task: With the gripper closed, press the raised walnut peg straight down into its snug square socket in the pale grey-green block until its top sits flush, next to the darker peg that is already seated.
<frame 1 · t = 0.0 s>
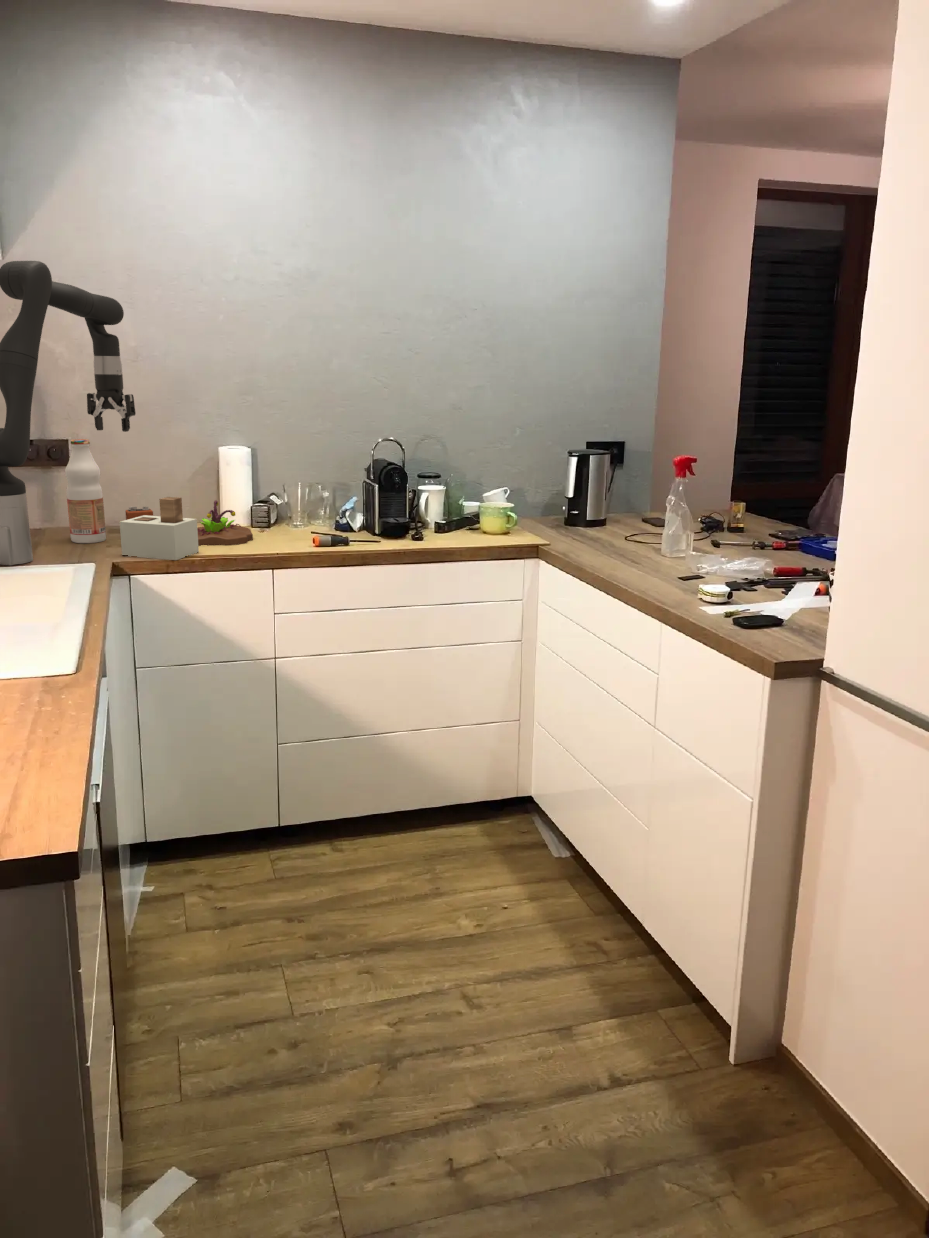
hand: (112, 430, 284), 29 cm above the worktop, tool pointing down, fingers open, 8 cm apart
peg: (171, 515, 258), point 10 cm above the worktop, slide at 6.0 cm
fruit juice: (88, 541, 278), on the worktop
seated peg: (147, 552, 263), resting in socket block
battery: (141, 543, 277), on the worktop
plant: (217, 541, 283), on the worktop
socket block: (160, 554, 262), on the worktop
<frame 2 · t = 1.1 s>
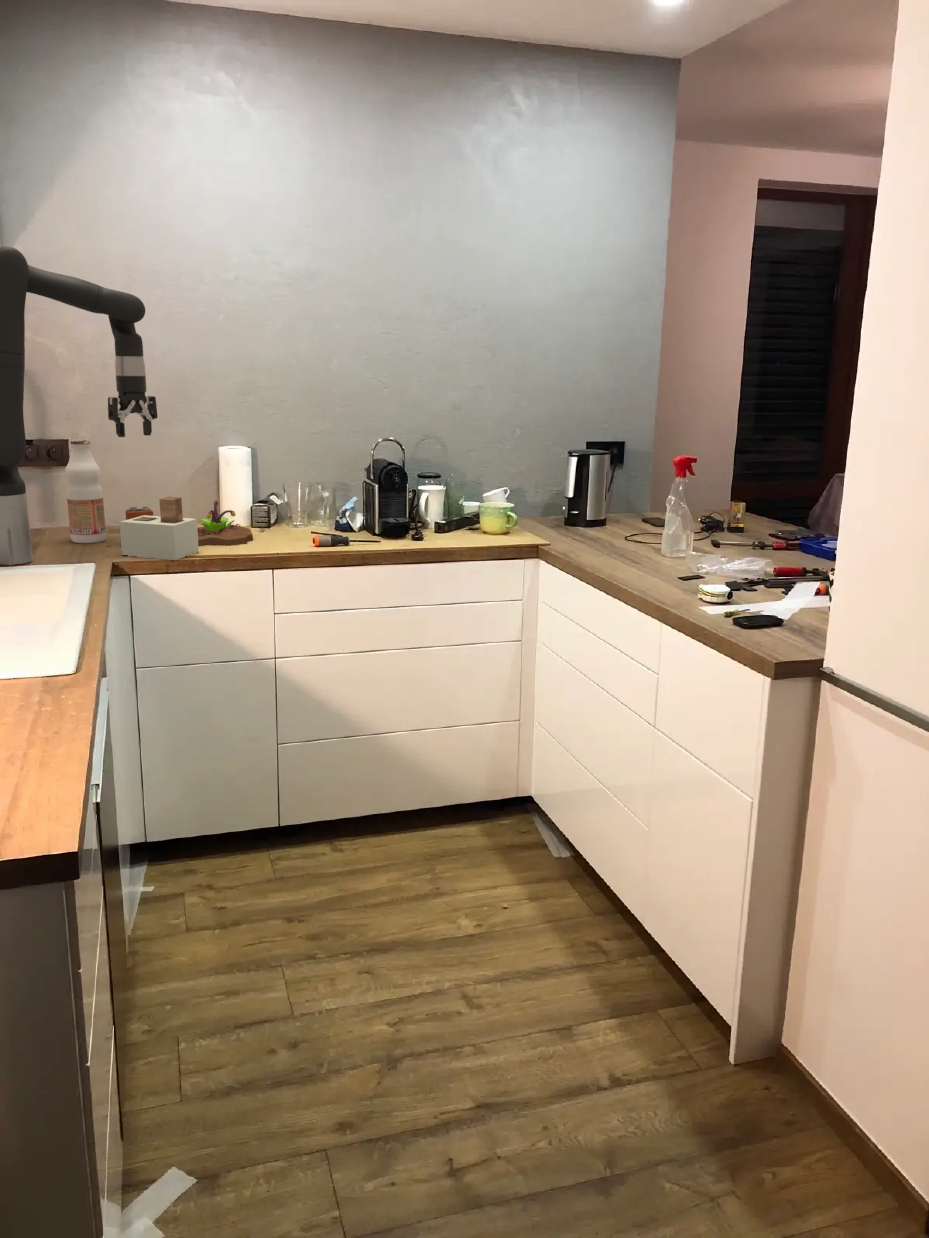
hand: (134, 436, 266), 30 cm above the worktop, tool pointing down, fingers open, 8 cm apart
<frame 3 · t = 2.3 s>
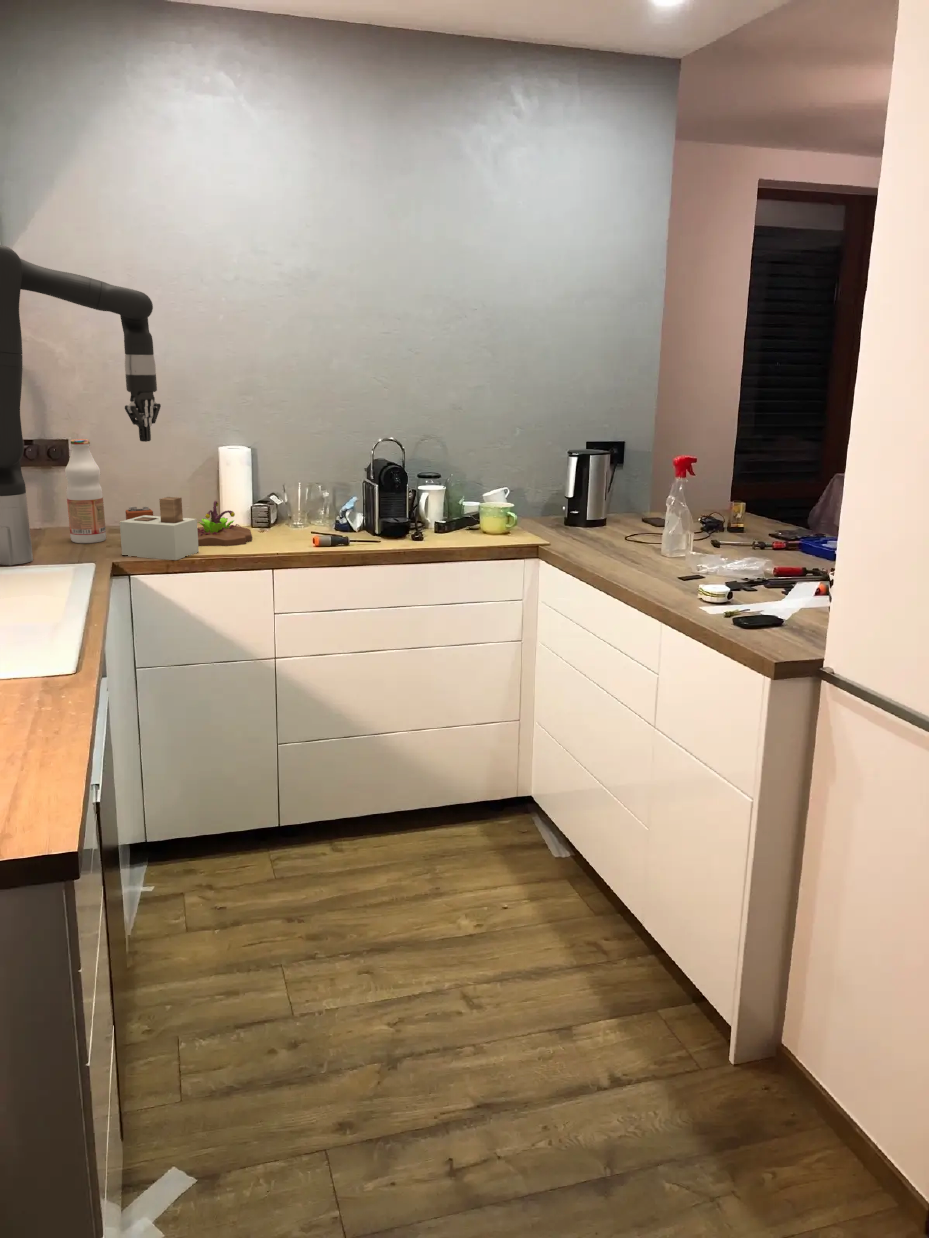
hand: (145, 441, 259), 29 cm above the worktop, tool pointing down, fingers closed
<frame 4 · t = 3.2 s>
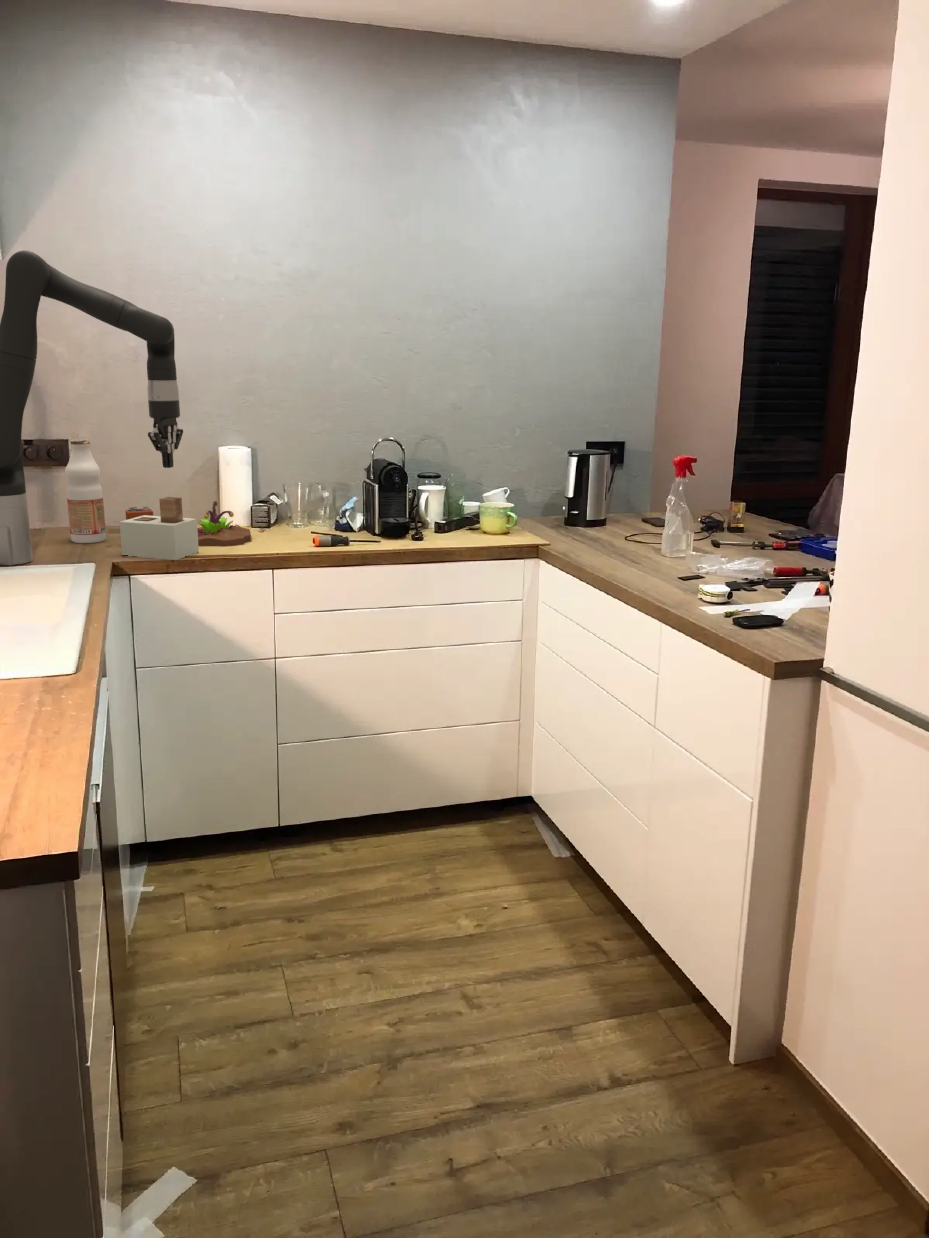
hand: (168, 467, 255), 23 cm above the worktop, tool pointing down, fingers closed
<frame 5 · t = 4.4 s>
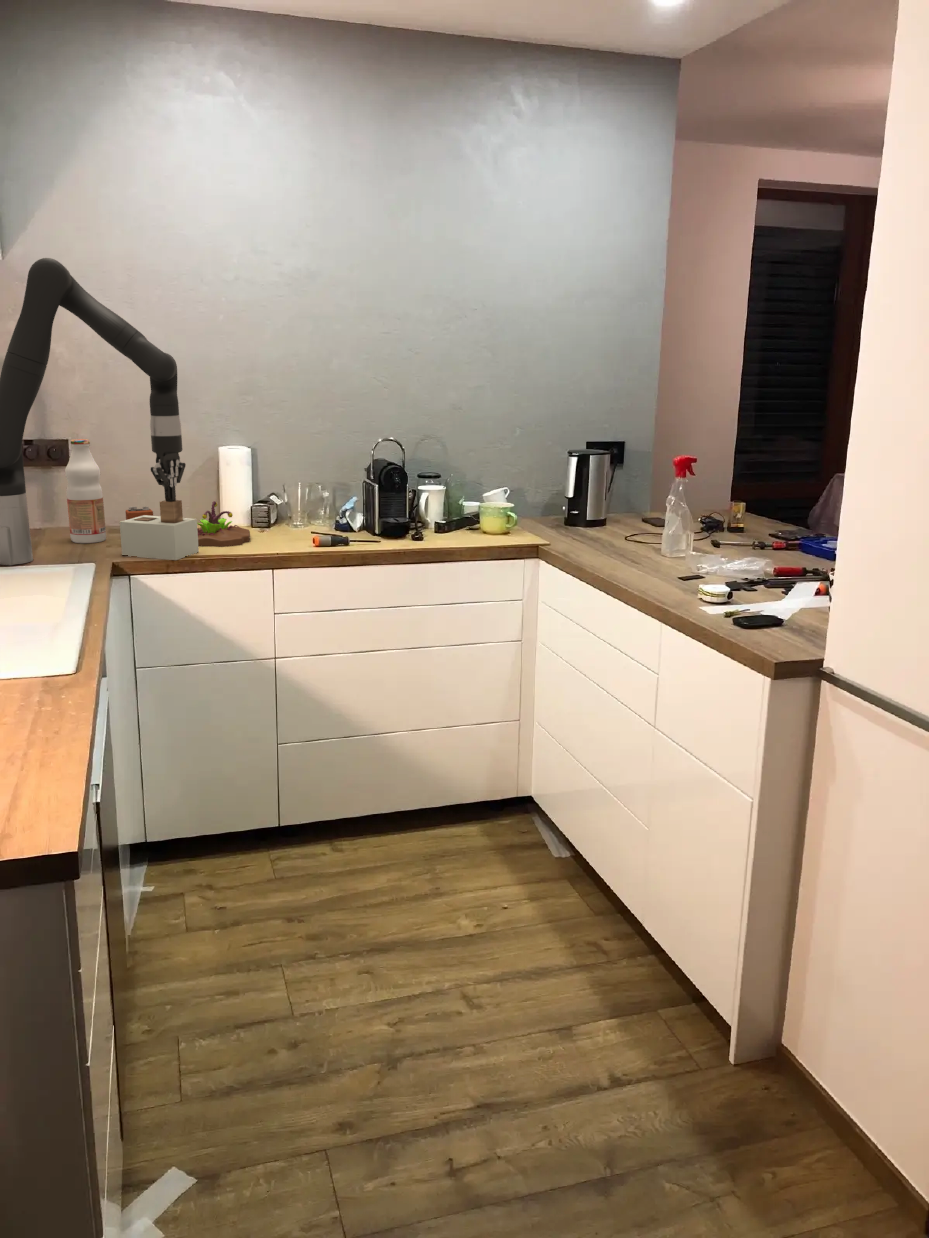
hand: (170, 501, 257), 14 cm above the worktop, tool pointing down, fingers closed
peg: (171, 518, 258), point 10 cm above the worktop, slide at 5.3 cm, touching gripper
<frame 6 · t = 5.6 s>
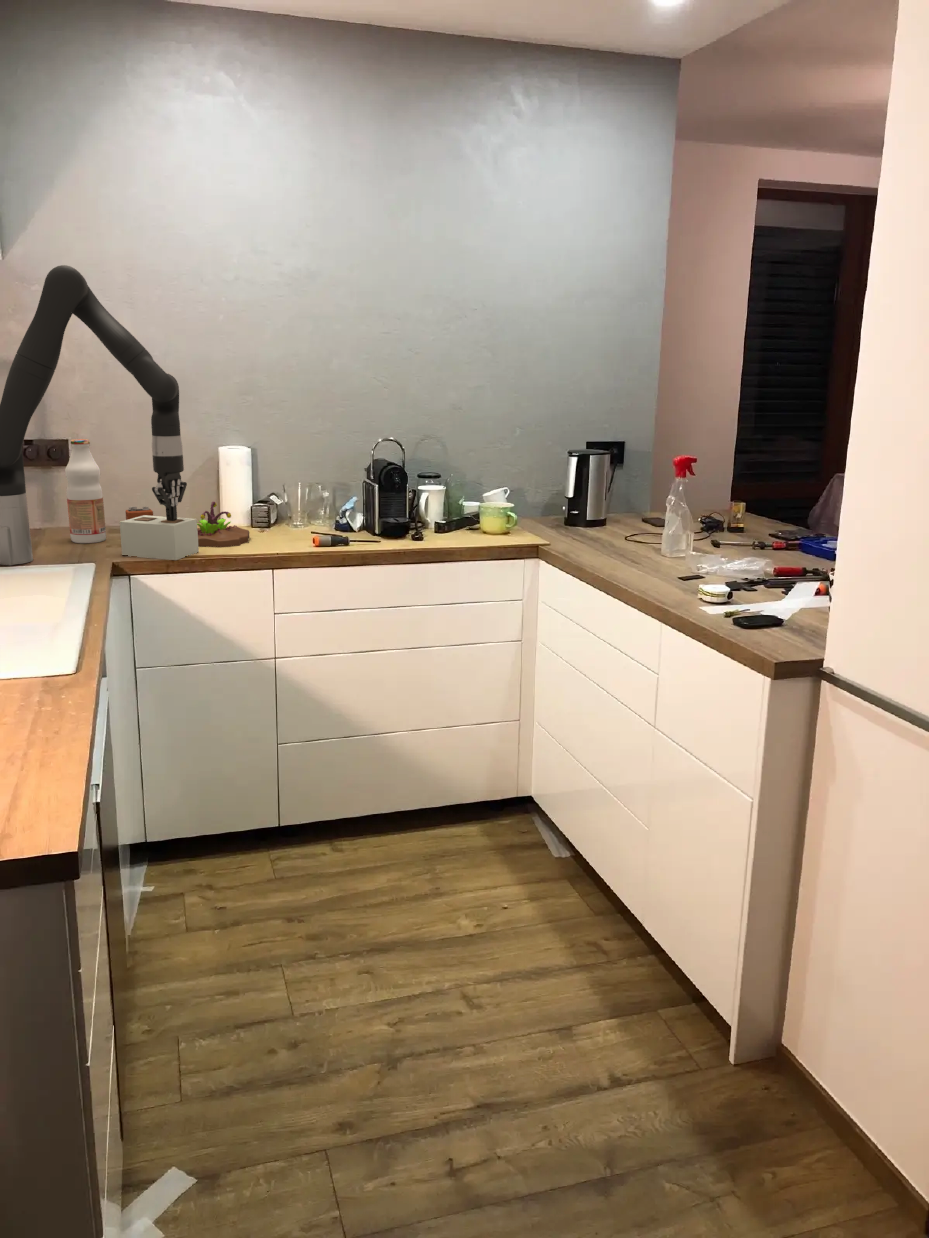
hand: (172, 520, 258), 9 cm above the worktop, tool pointing down, fingers closed
peg: (173, 537, 259), point 5 cm above the worktop, slide at 0.3 cm, touching gripper
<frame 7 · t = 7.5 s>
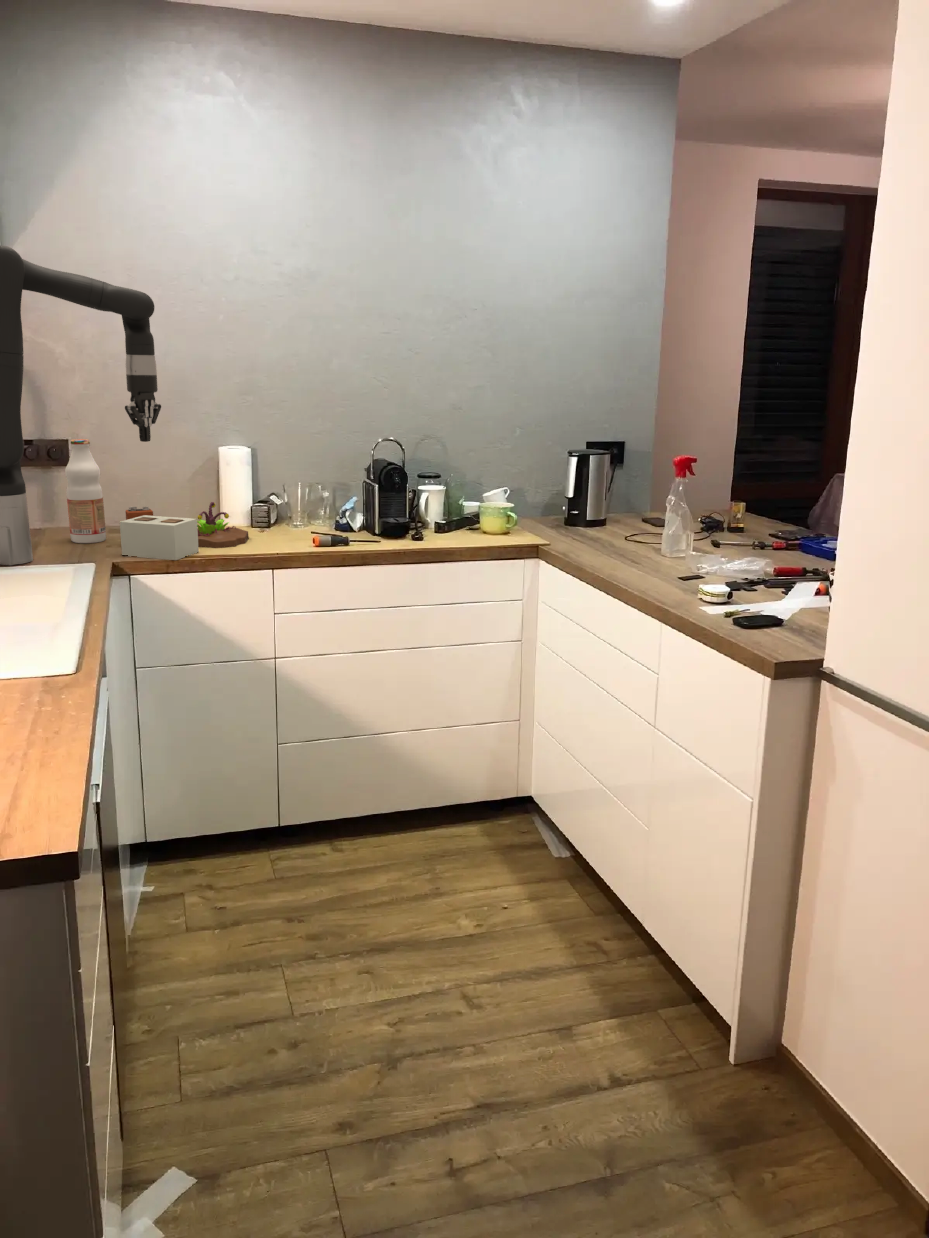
hand: (145, 441, 259), 29 cm above the worktop, tool pointing down, fingers closed
peg: (173, 537, 259), point 5 cm above the worktop, slide at 0.2 cm
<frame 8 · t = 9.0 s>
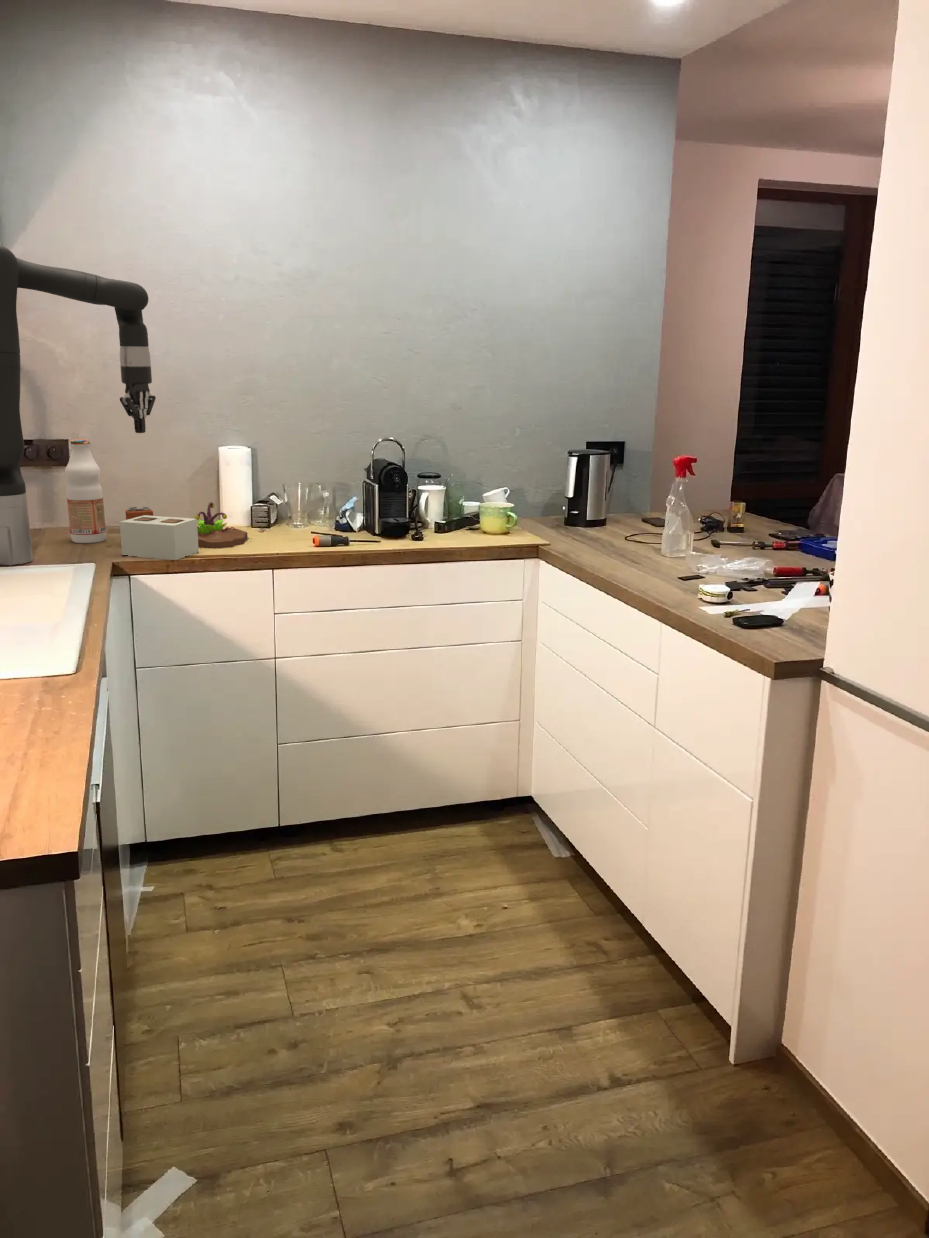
hand: (140, 432, 260), 31 cm above the worktop, tool pointing down, fingers closed
at the end: peg slide at 0.2 cm; the gripper is holding nothing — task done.
